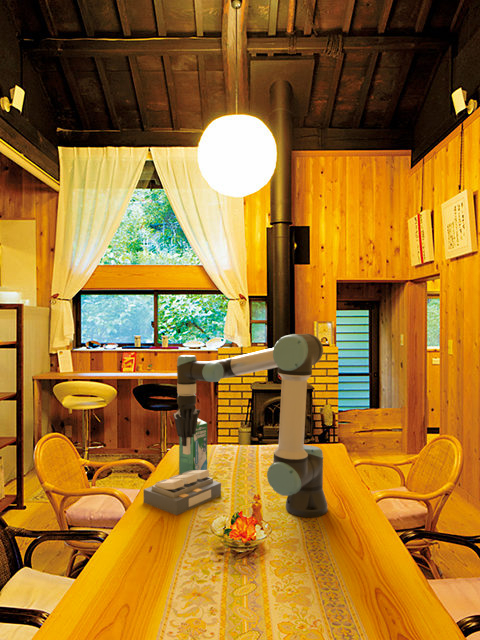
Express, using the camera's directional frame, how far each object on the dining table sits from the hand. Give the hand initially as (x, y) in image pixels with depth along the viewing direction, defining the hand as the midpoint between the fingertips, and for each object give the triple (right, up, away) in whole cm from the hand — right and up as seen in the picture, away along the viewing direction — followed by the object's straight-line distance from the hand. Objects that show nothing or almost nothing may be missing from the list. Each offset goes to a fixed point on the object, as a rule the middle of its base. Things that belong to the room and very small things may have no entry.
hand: (186, 453), depth 186 cm
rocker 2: (-1, -10, -5) cm, 11 cm away
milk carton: (0, -16, +25) cm, 30 cm away
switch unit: (-1, -16, -5) cm, 17 cm away
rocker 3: (+4, -10, +1) cm, 11 cm away
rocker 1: (-5, -10, -10) cm, 15 cm away
